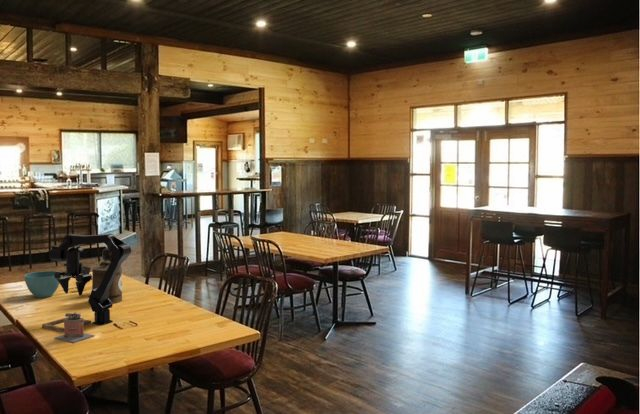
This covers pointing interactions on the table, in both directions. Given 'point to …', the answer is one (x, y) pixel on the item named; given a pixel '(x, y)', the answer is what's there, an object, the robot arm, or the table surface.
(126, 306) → the table surface
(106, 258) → the spray bottle
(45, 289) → the teal bowl
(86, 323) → the square wooden frame
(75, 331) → the lighter
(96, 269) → the wooden container
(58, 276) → the robot arm
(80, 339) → the charcoal mat
